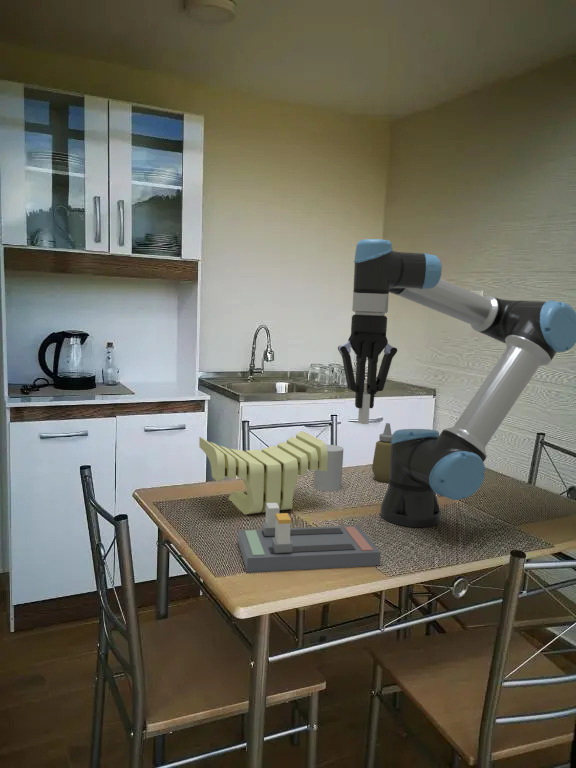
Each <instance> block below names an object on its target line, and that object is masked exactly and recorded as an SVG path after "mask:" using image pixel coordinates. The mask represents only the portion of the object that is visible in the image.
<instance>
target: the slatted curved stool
mask: <svg viewBox="0 0 576 768" xmlns="http://www.w3.org/2000/svg"><path fill="white" fill-rule="evenodd" d="M198 438H199V440H198V441H199V442H198V443H199V445H198V446H199V448H200V449H201V450H202V451H203V453H204V454H205V455H206V457H207V458H208V461H209V464H210V469H211V478H212V479H214V480H215V481H216V482H220V481H223V480H225V479H226V478H227V479H235V478H236V477H237V478H238V479H242V481H243V483H244V485H245V489H246V490H244V491H242V490H237V491H231V493H230V495H229V497H228V498H227V499H228V501H230V502H231V501H232V502H231V503H232V504H233V505H234V506H235V507H236V508H237V509H238V510H239V511H240V512H241V513H243V514H244V515H253V514H260V513H266V503H277V504H278V506H279V508H280V511H286V510H293V498H294V493H295V490H296V487H297V484H298V481H299V479H298V478H299V476H300V477H302V476H304V475H305V474H306V473H308V472H309V471H311V472H315V470H318V469H319V470H321V471H326V472H327V465H328V451H327V447H326V445H327V444H326V443H325V442H324V441H323V440H322V439H320V438H318V437H315V436H314V435H313V434H309V432H306V431H303V430H301V431H300V432H298V433H297V434H295V437H294V436H292V437H290V438H288V439H286V442H285V441H282V442H279V443H277V444H276V445H271V446H269V447H268V446H267V447H264V448H261V450H260V449H253V450H252V449H249V450H247V449H246V450H245V451H244V450H243V449H233V448H227V447H225V446H222V445H218V444H217V443H215V442H212V441H209V440H207V439H205V438H203V437H201V436H199V437H198Z"/></svg>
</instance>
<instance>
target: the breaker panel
mask: <svg viewBox="0 0 576 768" xmlns="http://www.w3.org/2000/svg"><path fill="white" fill-rule="evenodd" d="M280 511H281V510H280V508H279V506H278V504H277V503H266V512H265V521H262V526H261V527H262V528H257V529H256V528H254V529H251V528H250V529H238V533H237V534H238V536H237V539H238V540H237V543H238V546H239V550H240V555H241V557H242V561H243V564H244V568H245V571H246V573H261V572H263V573H266V572H281V571H282V572H283V571H300V570H301V571H305V570H307V571H308V570H321V569H324V570H325V569H327V570H328V569H340V568H341V569H342V568H346V569H347V568H362V567H363V566H366V567H377V566H376V565H380V566H381V555H382V552H381V550H380V549H379V548H378V547H377V545H375V544H374V543H373V540H371V539H370V537H369V536H368V535H367V533H365V531H364V530H363V529H362V528H361V527H360V526H359V525H337V526H336V525H335V526H310V527H308V526H306V527H290V540H291V542H292V544H293V545H292V552H288V553H275V552H274V550H273V548H272V538H275V523H276V517H275V516H276V514H277V513H281V512H280ZM361 566H362V567H361ZM363 568H364V567H363Z"/></svg>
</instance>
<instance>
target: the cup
mask: <svg viewBox="0 0 576 768" xmlns="http://www.w3.org/2000/svg"><path fill="white" fill-rule="evenodd" d="M325 445H326V447H327V451H328V465H327V472H326V471H321V470H319V469H318V470H315V471H313V472H314V473H313V474H314V475H313V488H314V489H315V490H317V491H319V490H321V492H325V491H328V492H327V493H332V492H334V491H335V492H339V491H341V490H342V481H343V464H344V462H343V461H344V447H342V446H340V445H335V444H325Z"/></svg>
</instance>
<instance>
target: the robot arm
mask: <svg viewBox="0 0 576 768" xmlns="http://www.w3.org/2000/svg"><path fill="white" fill-rule="evenodd" d="M440 260H441V259H440V257H438V256H437V255H434V254H428V253H426V252H423V253H421V252H404V251H395V250H393V244H392V241H390V240H388V239H378V238H368V239H367V238H366V239H365V238H364V239H361V240H359V241H357V244H356V247H355V254H354V260H353V263H354V270H353V271H354V272H353V273H354V275H353V290H352V291H353V292H352V307H351V309H352V310H351V311H352V312H354V314H352V315H351V326H350V329H351V330H350V335H349V338H348V341H347V342H346V343H344V344H343V345H339V346H338V347H337V350H338V352H339V354H340V356H341V358H342V364H343V365H342V366H343V368H344V369H343V370H344V375H345V380H346V381H345V382H346V386H347V389H348V390H350V391H353V392H354V393H355V397H354V398H355V400H354V405H355V408H357V409H358V416H357V417H358V418H357V420H358V421H357V422H358V423H359V424H361V425H369V421H370V409H373V408H374V405H375V395H376V394H377V393H378V392H382V391H383V390H384V388H385V384H386V381H387V377H388V374H389V370H390V368H391V364H392V361H393V359H394V357H395V355H396V354H397V352H398V348H397V347H394V346H392V345H391V344H389V343H388V342H389V340H388V338H387V329H388V327H387V326H388V317H387V316H386V314H388V312H389V296H390V295H389V294H394V295H397V296H399V297H401V298H403V299H406V300H409V301H412V302H414V303H416V304H418V305H422V306H424V307H426V308H429V309H431V310H434V311H436V312H438V313H441V314H442V315H443V314H444V315H446V316H449V317H452V318H453V319H456V320H459V321H461V322H464V323H467V324H469V325H470V327H471V328H472V329H473V331H475V332H478V333H481V334H483V335H485V336H487V337H489V338H492V339H494V340H495V341H496V340H497V341H499V342H501V343H503V344H505V345H506V349H505V350H504V352H503V353H502V354H501V356H500V357H499V359H498V361H496V363H495V365H494V366H493V367H492V369H491V371H490V372H489V374H488V375H487V377H486V378H485V379H484V381H483V382H482V384H481V385H480V387H479V388H478V390H477V392H475V394H474V396H473V397H472V398H471V400H470V401H469V403H468V404H467V405H466V408H465V409H464V411H463V412H462V414H461V415H460V417H459V418H458V419H457V421H456V422H455V424H454V425H453V426H452V427H448V428H447V427H446V428H443V429H442V431H441V432H439V431H438V430H435V429H429V428H427V429H426V428H405V429H397V430H395V431H394V432H393V433H392V435H393V437H392V442H391V462H390V479H389V482H388V488H387V490H386V492H385V494H384V496H383V500H382V502H381V503H380V504H381V505H380V512H379V513H380V514H379V515H380V517H381V518H383V519H384V520H385V521H387V522H389V523H391V524H394V525H398V526H403V527H408V528H409V527H410V528H426V527H433V526H435V525H437V524H439V523H440V520H441V509H440V505H439V501H438V497H437V496H441V497H444V498H446V499H450V500H454V501H458V500H459V501H460V500H463V499H467V498H469V497H471V496H473V495H474V494H476V492H477V491H478V490H479V489H480V488H481V487H482V485H483V483H484V481H485V478H486V477H485V476H486V474H485V472H486V465H485V463H484V462H485V460H486V459H487V458H488V454H487V451H486V447H487V445H488V444H489V442H490V441H491V439H492V437H493V436H494V435H495V433H497V430H498V429H499V427H500V425H501V424H502V422H503V421H504V420H505V418H506V417H507V415H508V414H509V412H510V411H511V409H512V408H513V406H514V405H515V404H516V403H517V400H518V399H519V397H520V396H521V395H522V392H523V391H525V389H526V387H527V385H528V384H529V383H530V381H531V380H532V378H533V376H534V375H535V373H536V372H537V370H538V369H539V368H540V367H542V366H548V365H549V364H550V363H551V362H552V360H553V359H554V358H555V356H556V354H557V353H564V352H568V351H570V350H571V349H573V348H574V346H575V345H576V310H575V309H574V308H573V307H572V306H571V305H570V304H568V303H566V302H564V301H557V300H551V299H550V300H547V301H544V300H514V299H512V300H511V299H510V300H509V299H504V298H503V299H502V298H498V297H495V296H493V295H490V294H489V295H488V294H487V295H484V296H482V295H479V294H477V292H474V291H470V290H468V289H466V288H465V287H464V288H463V287H461V286H459V285H457V284H454V283H452V282H450V281H447V280H445V279H442V269H443V268H442V267H443V266H442V263H441V261H440ZM351 349H352V351H353V353H354V354H355V356H356V357H355V358H356V359H355V360H356V366H355V367H356V370H355V375H354V369H353V364H352V363H353V362H352V357H351V354H350V353H351V352H352V351H351ZM382 352H383V356H382V359H381V363H380V366H379V370H378V362H379V356H380V355H381V353H382ZM366 363H367V373H366ZM377 371H378V374H377ZM366 374H367V375H366ZM366 376H367V377H366ZM365 377H366V379H365ZM365 380H366V392H365Z"/></svg>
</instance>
